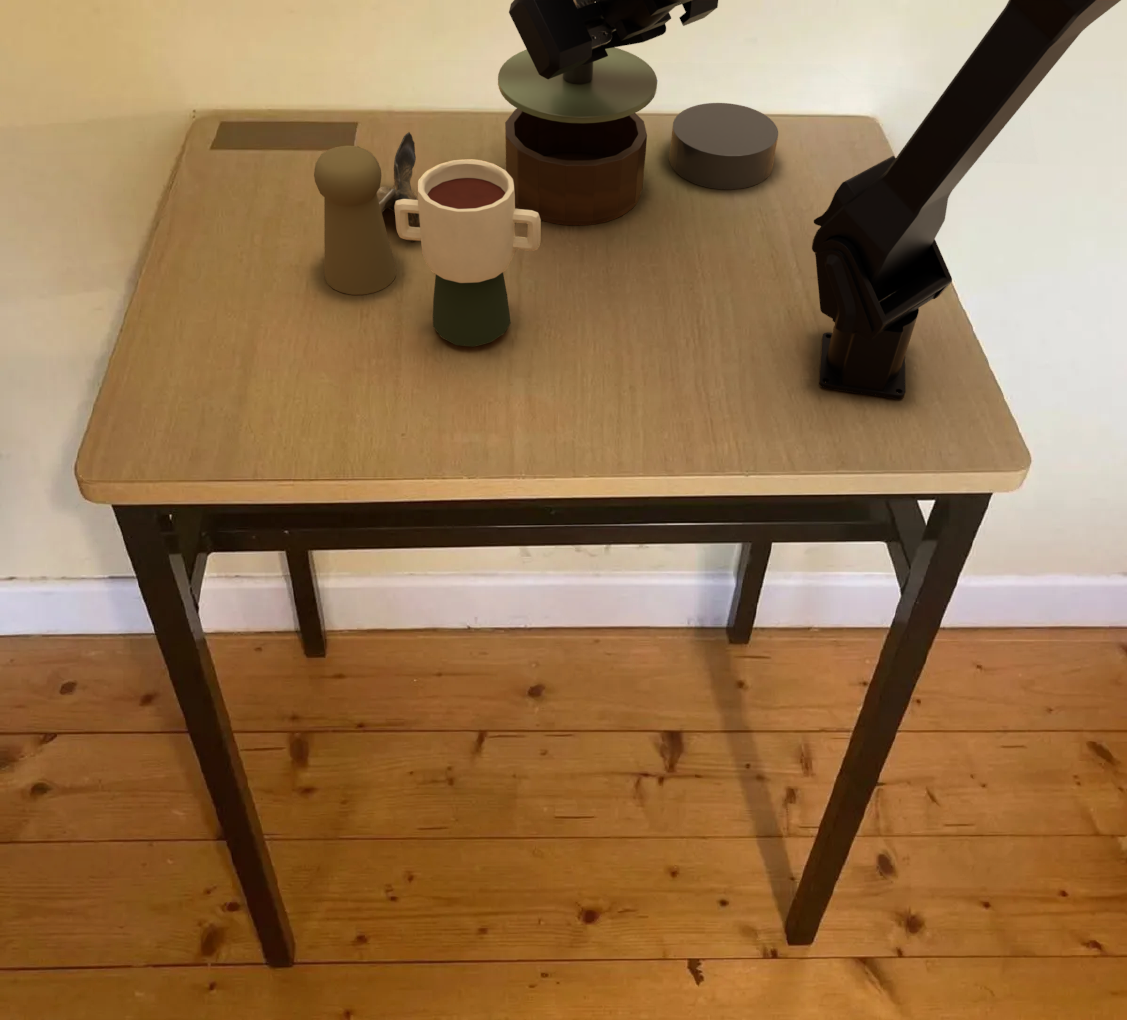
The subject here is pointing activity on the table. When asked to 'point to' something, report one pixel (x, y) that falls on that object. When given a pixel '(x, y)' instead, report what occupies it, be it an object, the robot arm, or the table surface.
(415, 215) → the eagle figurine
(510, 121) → the brown round pot
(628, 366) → the table surface
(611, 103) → the lid
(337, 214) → the brown pawn
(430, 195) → the character mug
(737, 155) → the disc
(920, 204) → the robot arm
